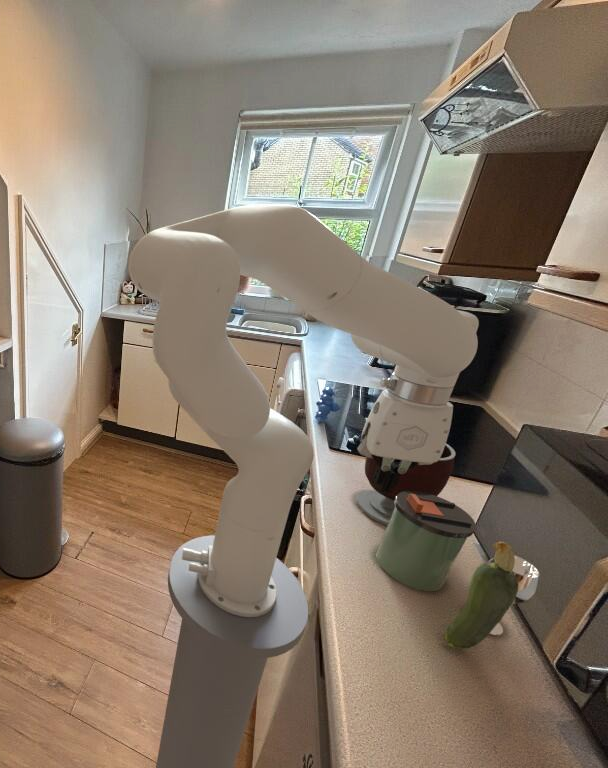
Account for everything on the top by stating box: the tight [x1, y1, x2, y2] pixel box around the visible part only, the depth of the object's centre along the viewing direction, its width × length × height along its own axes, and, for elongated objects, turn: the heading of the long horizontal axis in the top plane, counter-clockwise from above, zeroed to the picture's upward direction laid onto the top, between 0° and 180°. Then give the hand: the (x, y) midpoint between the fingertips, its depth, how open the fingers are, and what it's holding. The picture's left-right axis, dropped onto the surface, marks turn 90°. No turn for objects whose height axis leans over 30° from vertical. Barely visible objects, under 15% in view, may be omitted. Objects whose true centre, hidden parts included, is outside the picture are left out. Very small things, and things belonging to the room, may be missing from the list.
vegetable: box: [444, 541, 518, 650], centre depth 55 cm, size 4×4×20 cm
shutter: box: [407, 493, 444, 517], centre depth 68 cm, size 4×4×2 cm
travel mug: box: [375, 491, 477, 592], centre depth 71 cm, size 11×11×14 cm
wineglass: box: [487, 554, 541, 636], centre depth 62 cm, size 6×6×12 cm
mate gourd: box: [355, 443, 456, 526], centre depth 85 cm, size 16×14×20 cm
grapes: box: [314, 386, 341, 423], centre depth 124 cm, size 12×7×12 cm, turn 149°
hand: (382, 487), depth 69 cm, fingers closed
